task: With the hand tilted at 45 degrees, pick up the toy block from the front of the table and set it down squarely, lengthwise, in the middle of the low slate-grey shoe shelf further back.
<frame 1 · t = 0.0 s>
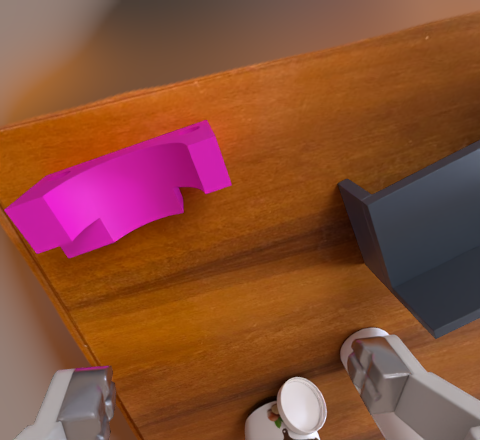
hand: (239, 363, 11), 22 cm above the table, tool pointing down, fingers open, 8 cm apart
toy block: (142, 178, 29), on the table
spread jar: (278, 400, 48), on the table
shelf: (448, 177, 35), on the table
milk bottle: (362, 344, 45), on the table
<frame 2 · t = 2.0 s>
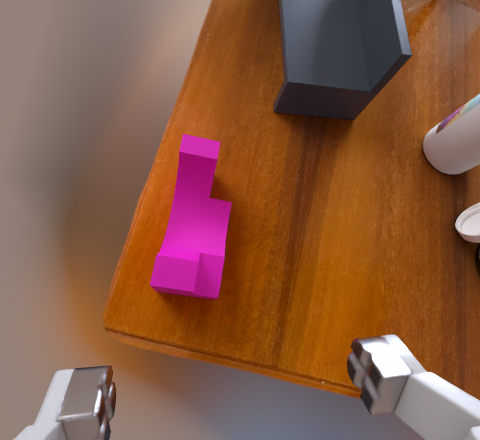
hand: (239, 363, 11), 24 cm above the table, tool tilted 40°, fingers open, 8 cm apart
toy block: (197, 230, 37), on the table
shelf: (308, 47, 47), on the table
milk bottle: (443, 152, 47), on the table
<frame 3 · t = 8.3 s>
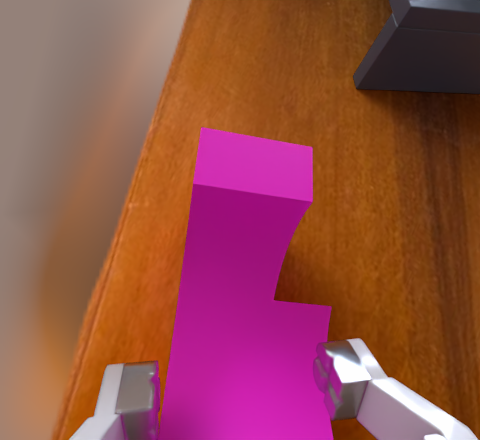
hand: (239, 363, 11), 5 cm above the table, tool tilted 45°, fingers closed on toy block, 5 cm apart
toy block: (236, 367, 15), on the table, touching gripper
when the fingers open (11 cm above the table, at t = 18.8 s): toy block stays where it is, resting on shelf.
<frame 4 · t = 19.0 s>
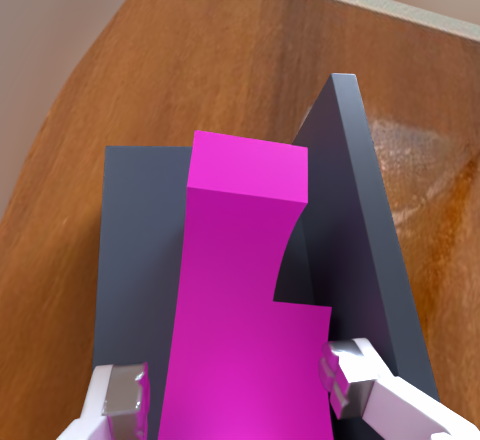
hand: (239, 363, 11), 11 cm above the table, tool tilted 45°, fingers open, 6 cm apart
toy block: (238, 368, 15), point 6 cm above the table, touching shelf
shelf: (216, 358, 20), on the table
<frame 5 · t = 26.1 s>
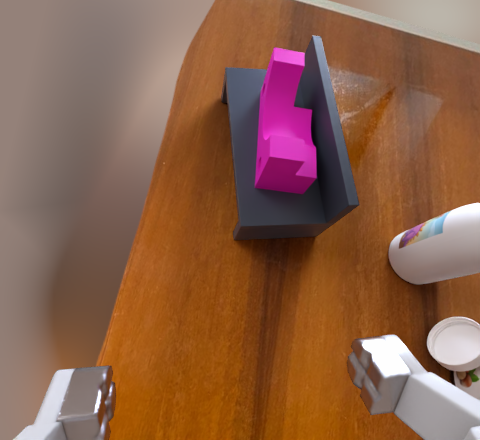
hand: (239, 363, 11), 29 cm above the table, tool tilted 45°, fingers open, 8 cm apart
toy block: (280, 141, 42), point 6 cm above the table, touching shelf
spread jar: (459, 368, 42), on the table
shelf: (266, 162, 48), on the table
milk bottle: (410, 259, 46), on the table
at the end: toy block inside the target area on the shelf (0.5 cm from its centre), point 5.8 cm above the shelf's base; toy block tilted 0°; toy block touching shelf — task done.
